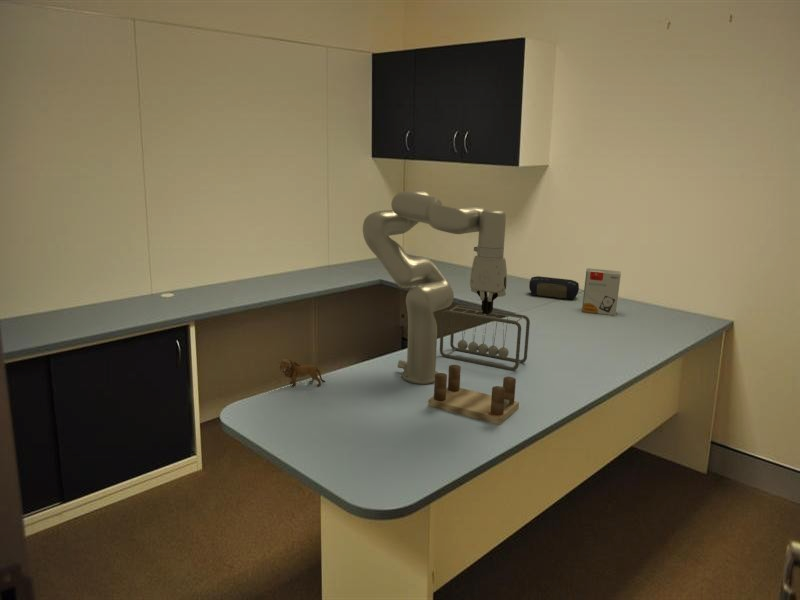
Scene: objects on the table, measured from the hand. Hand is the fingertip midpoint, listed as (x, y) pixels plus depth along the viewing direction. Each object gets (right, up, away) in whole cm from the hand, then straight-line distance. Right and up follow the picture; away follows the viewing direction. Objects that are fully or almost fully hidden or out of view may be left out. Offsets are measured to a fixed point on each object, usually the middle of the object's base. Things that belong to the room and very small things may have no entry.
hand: (486, 313), depth 193 cm
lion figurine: (-57, -23, +13) cm, 63 cm away
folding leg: (+4, -27, -6) cm, 28 cm away
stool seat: (-4, -28, -1) cm, 28 cm away
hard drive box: (+68, -2, +113) cm, 132 cm away
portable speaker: (+53, +5, +141) cm, 150 cm away
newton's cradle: (+4, -18, +42) cm, 46 cm away
